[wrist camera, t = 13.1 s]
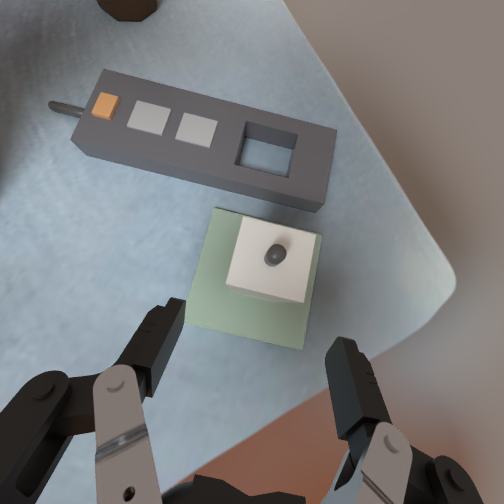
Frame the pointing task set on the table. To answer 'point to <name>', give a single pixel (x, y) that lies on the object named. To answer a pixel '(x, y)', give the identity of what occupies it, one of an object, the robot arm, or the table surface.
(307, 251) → the block
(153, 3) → the beer bottle
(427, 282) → the table surface
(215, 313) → the mat
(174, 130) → the power strip
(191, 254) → the table surface
